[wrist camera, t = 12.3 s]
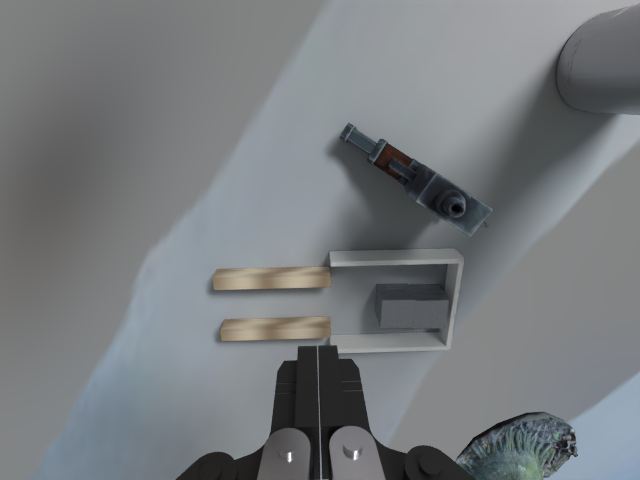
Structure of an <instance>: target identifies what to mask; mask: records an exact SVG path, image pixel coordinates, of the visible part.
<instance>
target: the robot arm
mask: <svg viewBox="0 0 640 480" xmlns="http://www.w3.org/2000/svg"><path fill="white" fill-rule="evenodd" d="M556 76H557V86H558V89H559V92H560V94H561V96H562V98H563V99H564V101H565V102H566V103H567V104H568V105H570V106H571V107H573V108H575V109H577V110H581V111H585V112H600V113H614V114H629V115H640V3H639V4H636V5H632V6H629V7H625V8H621V9H618V10H614V11H610V12H607V13H603V14H600V15H598V16H596V17H594V18H592V19H590V20H589V21H587V22H586V23H584V24H583V25H582V26H581V27H580V28H579V29H578V30H577V31H576V32H575V33H574V34H573V35H572V36H571V38H570V39H569V40H568V42H567V43H566V45H565V47H564V49H563V51H562V53H561V56H560V59H559V62H558V66H557V74H556ZM318 355H319V398H320V427H321V455H322V479H329V480H477V479H475V478H474V477H473V476H472V475H470V474H469V473H468V472H467V471H465V470H464V469H463V468H462V467H460V466H459V465H458V464H457V463H456V462H454V461H453V460H452V459H451V458H449V457H448V456H447V455H446V454H444V453H443V452H442V451H440V450H438V449H436V448H433V447H431V446H424V445H423V446H417V447H414V448H412V449H411V450H410V451H409V452H408V453H407V454H406V453H402V452H399V451H395V450H392V449H389V448H387V447H385V446H383V445H382V444H381V443H379V442H378V441H377V440H376V439H375V438H374V436H373V435H372V433H371V431H370V427H369V422H368V417H367V411H366V406H365V400H364V395H363V390H362V384H361V378H360V373H359V368H358V367H357V365H356V364H355V363H354V361H353V360H352V359H339V358H338V349H337V345H323V346H318ZM176 480H320V443H319V404H318V372H317V346H298V358H297V360H295V361H284V362H283V364H282V365H281V367H280V368H279V370H278V372H277V381H276V389H275V398H274V407H273V416H272V425H271V432H270V435H269V438H268V439H267V441H266V443H265V444H264V445H263V446H262V447H261V448H260V449H259V450H257V451H256V452H254V453H252V454H250V455H247V456H245V457H242V458H239V459H236V460H234V459H233V458H232V457H231V456H230V455H228V454H226V453H223V452H212V453H209V454H206V455H204V456H202V457H201V458H199V459H198V460H197V461H196V462H194V463H193V464H192V465H191V466H190V467H189V468H188V469H187V470H186V471H185V472H183V473H182V474H181V475H180V476H179V477H178V478H177V479H176Z"/></svg>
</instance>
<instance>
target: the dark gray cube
mask: <svg viewBox="0 0 640 480" xmlns="http://www.w3.org/2000/svg"><path fill="white" fill-rule="evenodd" d="M408 285H409V287H410V289H411V291H412V293H413V295H414V297H415V299H416V304H415V312H414V321H413V329H420V328H445V323H446V317H447V311H448V304H449V299H448V298H447V296H446V295H445V293H444V292H443V290H442V289H441V287H440V286H439V285H438V284H408Z"/></svg>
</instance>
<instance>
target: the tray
mask: <svg viewBox="0 0 640 480" xmlns="http://www.w3.org/2000/svg"><path fill="white" fill-rule="evenodd" d="M329 256H330V264H331V267H335V266H375V265H415V264H448V267H447V274H446V281H445V288H444V293H445V295H446V296H447V298H448V299H449V304H448V311H447V317H446V323H445V328H439V331H438V332H421V333H386V334H352V335H331V338H330V345H337V349H338V353H365V352H398V351H431V350H450V348H451V342H452V335H453V329H454V323H455V316H456V310H457V304H458V297H459V291H460V285H461V278H462V272H463V266H464V257H463V256H462V255H461V254H460V253H459V252H458V251H457V250H456V249H455V248H445V249H403V250H361V251H329Z"/></svg>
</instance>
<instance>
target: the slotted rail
mask: <svg viewBox="0 0 640 480" xmlns="http://www.w3.org/2000/svg"><path fill="white" fill-rule="evenodd" d="M212 280H213V287H214V290H234V289H272V288H311V287H331V275H330V267H290V268H249V269H217V271H216V273H215V275H214V277H213V279H212ZM220 335H221V341H239V340H273V339H308V338H331V326H330V317H302V318H266V319H230V320H224V322H223V325H222V327H221V330H220Z"/></svg>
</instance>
